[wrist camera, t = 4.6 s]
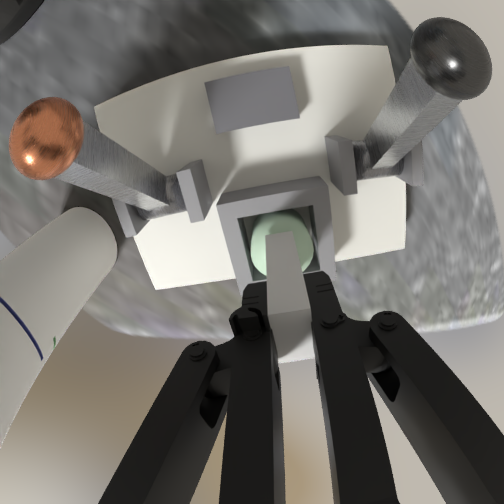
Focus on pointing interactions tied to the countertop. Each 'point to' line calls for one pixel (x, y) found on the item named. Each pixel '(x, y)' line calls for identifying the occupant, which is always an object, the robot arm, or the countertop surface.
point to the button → (279, 224)
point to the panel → (262, 159)
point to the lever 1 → (88, 159)
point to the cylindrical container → (46, 297)
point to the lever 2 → (424, 94)
